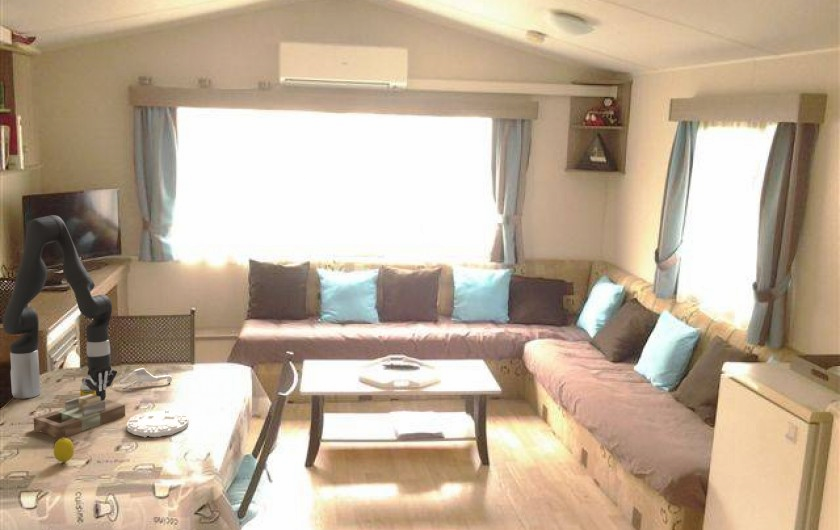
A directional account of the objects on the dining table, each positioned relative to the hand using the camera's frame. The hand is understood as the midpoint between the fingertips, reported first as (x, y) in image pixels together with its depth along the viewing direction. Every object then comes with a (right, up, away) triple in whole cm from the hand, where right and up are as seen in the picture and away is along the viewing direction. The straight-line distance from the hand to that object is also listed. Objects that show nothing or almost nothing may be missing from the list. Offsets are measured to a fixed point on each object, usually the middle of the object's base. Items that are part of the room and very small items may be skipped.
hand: (101, 400), depth 263 cm
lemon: (+5, -12, -37) cm, 39 cm away
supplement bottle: (-9, -4, +11) cm, 15 cm away
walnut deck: (-4, -7, -6) cm, 10 cm away
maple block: (-2, -2, -4) cm, 5 cm away
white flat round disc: (+23, -8, -7) cm, 25 cm away
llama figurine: (+4, -1, +33) cm, 33 cm away
